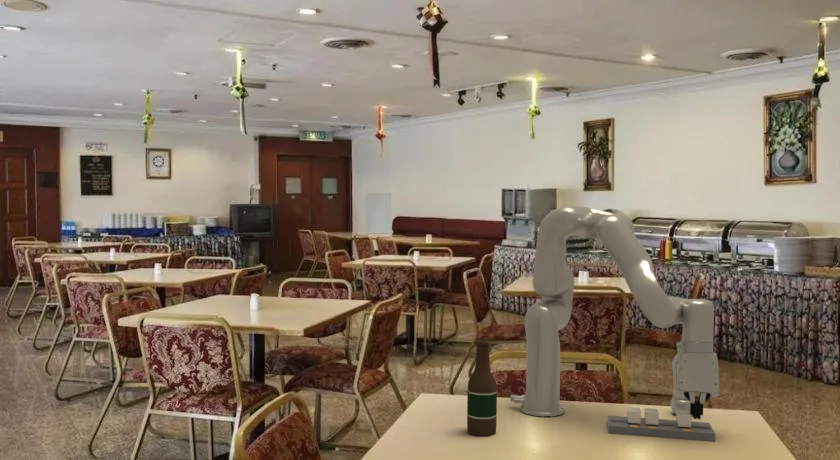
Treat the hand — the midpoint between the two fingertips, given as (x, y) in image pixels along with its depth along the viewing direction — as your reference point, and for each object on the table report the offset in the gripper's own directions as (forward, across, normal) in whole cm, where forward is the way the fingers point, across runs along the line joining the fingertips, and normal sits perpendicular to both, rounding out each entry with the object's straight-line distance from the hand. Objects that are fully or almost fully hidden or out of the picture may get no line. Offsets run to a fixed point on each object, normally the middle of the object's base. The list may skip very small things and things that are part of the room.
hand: (696, 417), depth 192 cm
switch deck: (+4, -9, 0) cm, 10 cm away
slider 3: (+2, -3, 0) cm, 4 cm away
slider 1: (+2, -16, 0) cm, 16 cm away
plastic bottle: (+5, -1, +19) cm, 20 cm away
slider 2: (+2, -11, 0) cm, 11 cm away
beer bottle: (+4, -54, -13) cm, 56 cm away
